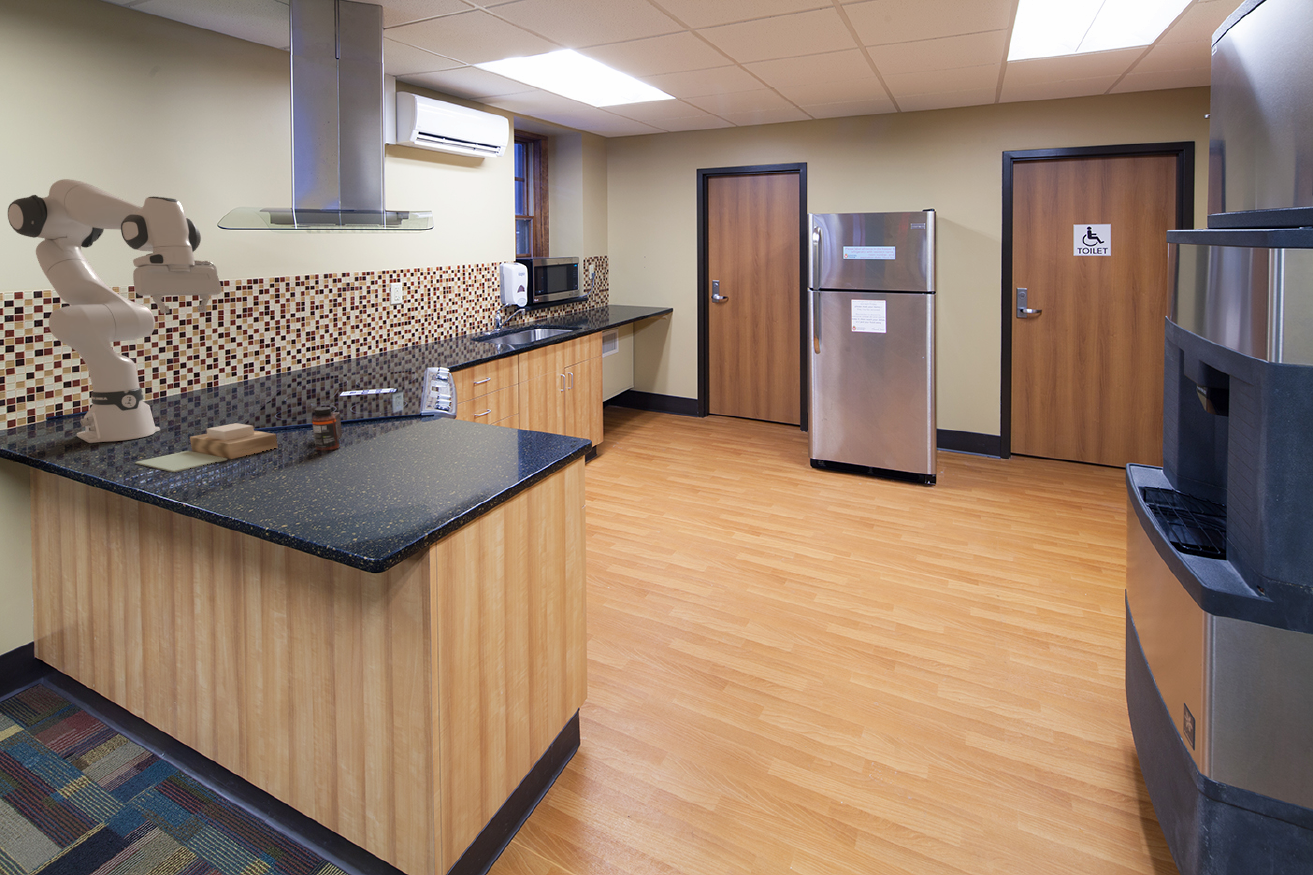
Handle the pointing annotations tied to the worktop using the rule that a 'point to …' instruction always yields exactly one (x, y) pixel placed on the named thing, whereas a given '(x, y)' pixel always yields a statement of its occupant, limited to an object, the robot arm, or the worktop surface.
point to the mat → (180, 461)
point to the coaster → (230, 431)
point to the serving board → (234, 445)
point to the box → (338, 424)
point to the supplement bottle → (325, 429)
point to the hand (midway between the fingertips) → (184, 312)
